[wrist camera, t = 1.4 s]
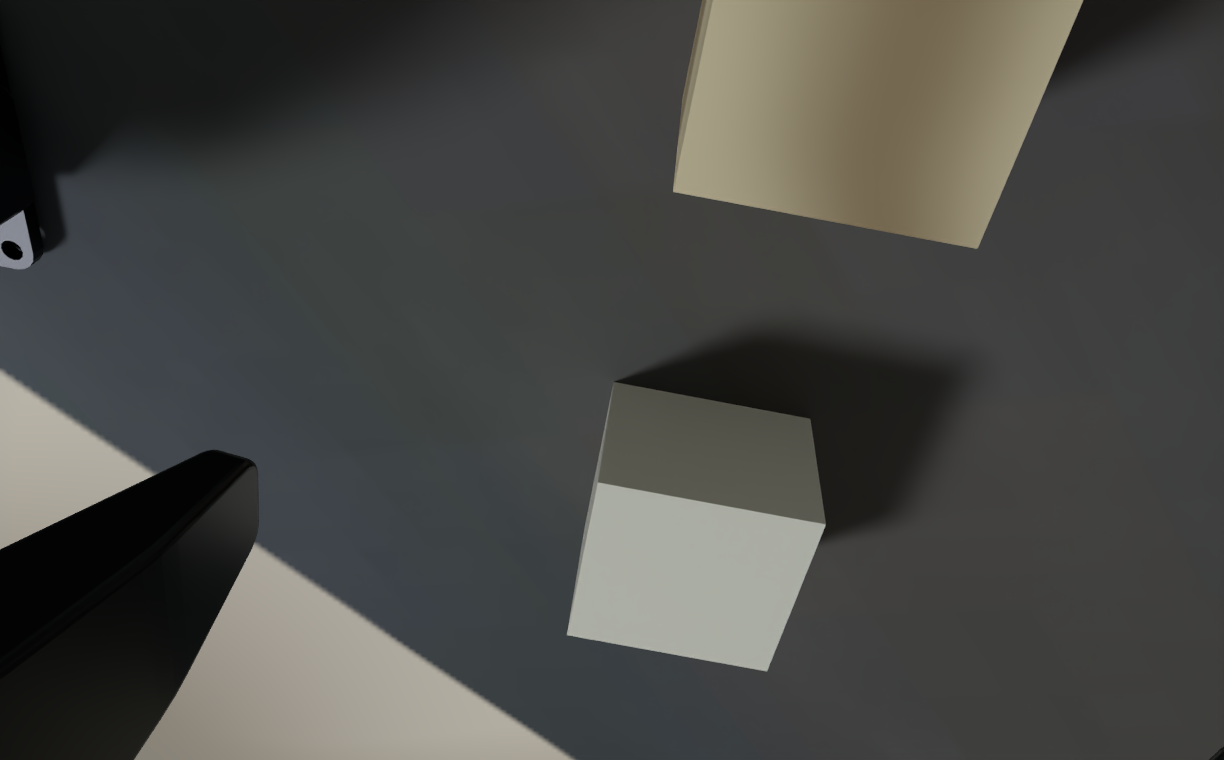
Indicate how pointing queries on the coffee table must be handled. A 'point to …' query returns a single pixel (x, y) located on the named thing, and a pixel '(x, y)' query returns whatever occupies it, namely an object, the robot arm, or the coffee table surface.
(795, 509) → the plastic block
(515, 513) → the coffee table surface
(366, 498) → the coffee table surface
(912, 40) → the tan wooden cube
